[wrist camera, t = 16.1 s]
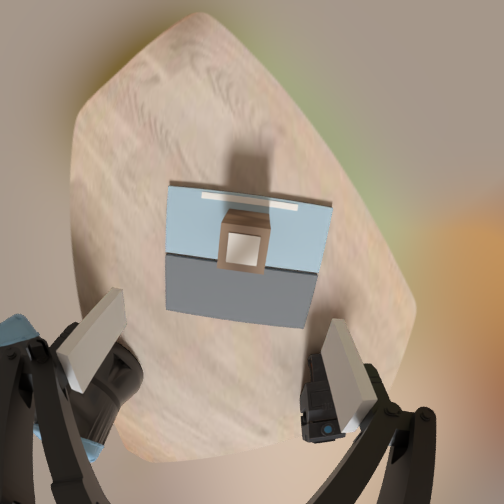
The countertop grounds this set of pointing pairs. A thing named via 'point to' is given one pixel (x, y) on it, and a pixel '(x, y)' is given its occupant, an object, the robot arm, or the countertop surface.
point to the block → (244, 241)
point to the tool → (318, 406)
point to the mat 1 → (280, 211)
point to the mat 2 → (238, 292)
